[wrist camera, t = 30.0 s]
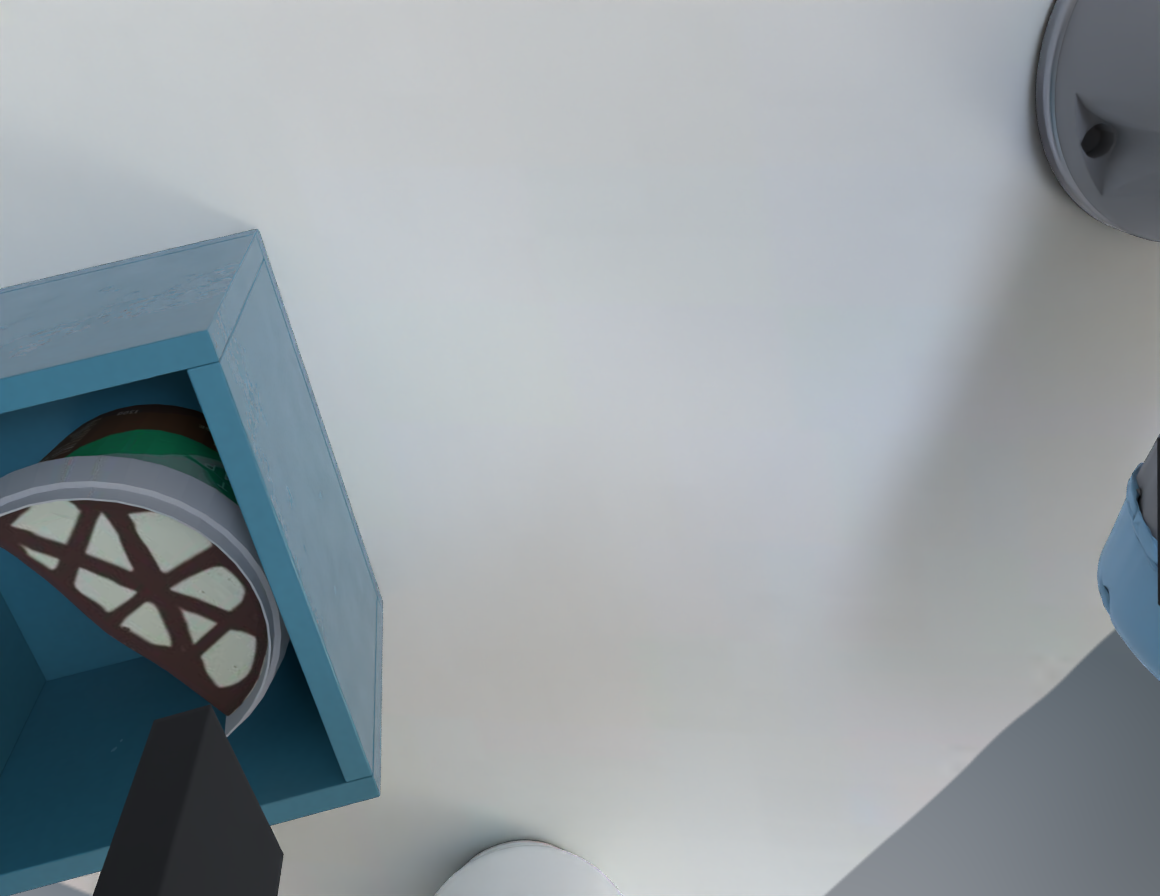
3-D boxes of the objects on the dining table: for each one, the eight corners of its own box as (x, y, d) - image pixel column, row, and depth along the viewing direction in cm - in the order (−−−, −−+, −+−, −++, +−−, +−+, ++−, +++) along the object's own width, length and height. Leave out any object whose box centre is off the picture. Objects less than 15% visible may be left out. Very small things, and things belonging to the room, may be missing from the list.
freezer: (258, 227, 42) (207, 329, 31) (383, 602, 50) (380, 796, 38) (-152, 323, 41) (-366, 466, 30) (40, 689, 49) (-69, 917, 38)
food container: (368, 514, 47) (362, 644, 38) (266, 599, 48) (237, 746, 39) (146, 311, 42) (80, 406, 33) (37, 410, 43) (-57, 529, 34)
